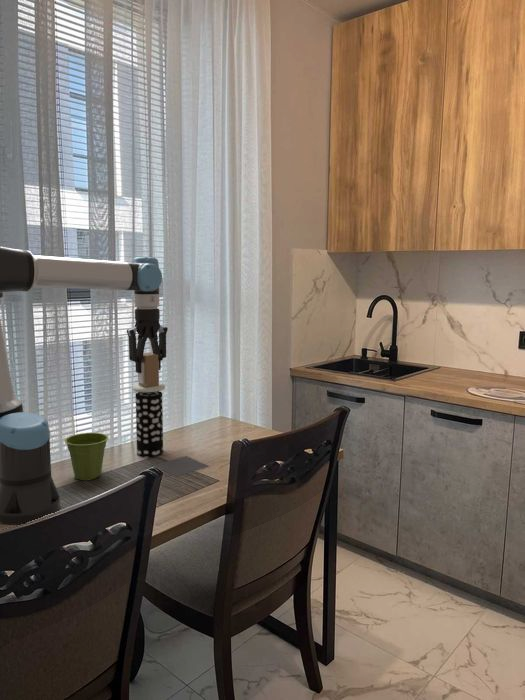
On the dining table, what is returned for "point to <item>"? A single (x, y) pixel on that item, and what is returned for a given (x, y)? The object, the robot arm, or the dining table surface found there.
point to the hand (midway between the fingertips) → (148, 381)
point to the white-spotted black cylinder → (149, 424)
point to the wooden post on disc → (150, 375)
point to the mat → (181, 466)
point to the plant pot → (87, 454)
